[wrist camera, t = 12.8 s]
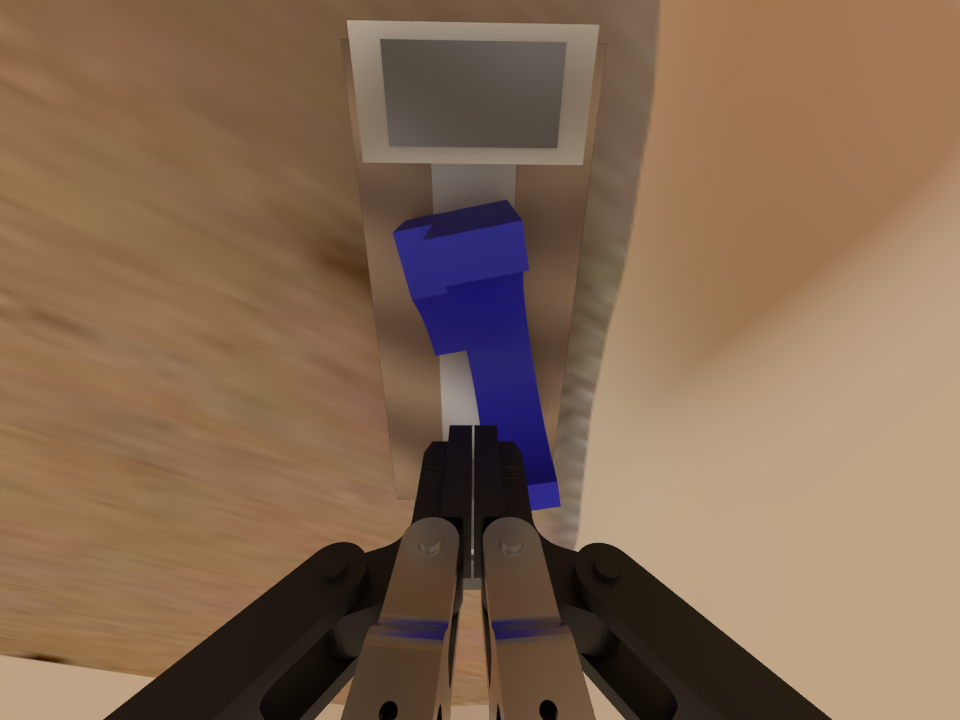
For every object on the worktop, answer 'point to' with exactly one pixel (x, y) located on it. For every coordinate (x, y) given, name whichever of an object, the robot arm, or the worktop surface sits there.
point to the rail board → (470, 193)
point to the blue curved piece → (483, 321)
